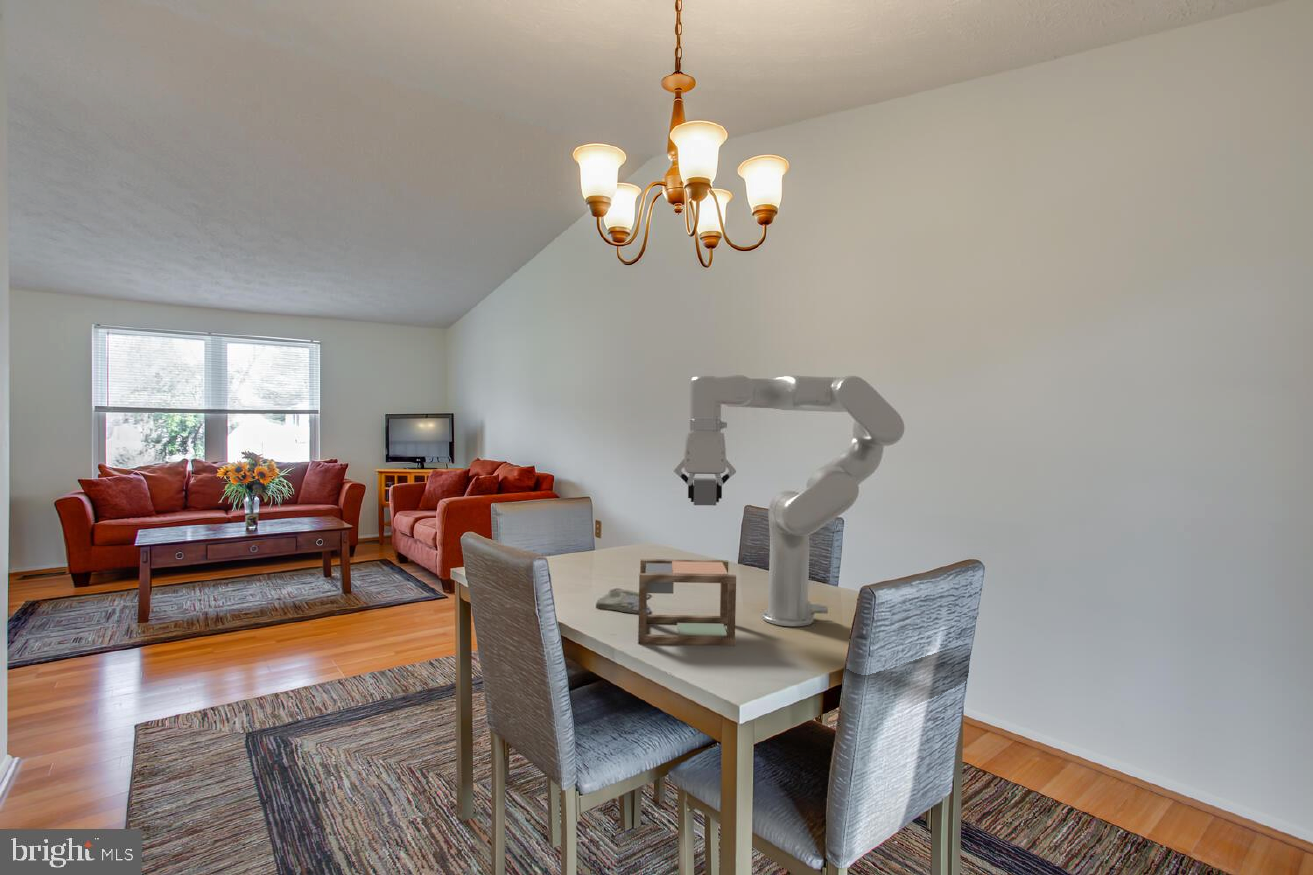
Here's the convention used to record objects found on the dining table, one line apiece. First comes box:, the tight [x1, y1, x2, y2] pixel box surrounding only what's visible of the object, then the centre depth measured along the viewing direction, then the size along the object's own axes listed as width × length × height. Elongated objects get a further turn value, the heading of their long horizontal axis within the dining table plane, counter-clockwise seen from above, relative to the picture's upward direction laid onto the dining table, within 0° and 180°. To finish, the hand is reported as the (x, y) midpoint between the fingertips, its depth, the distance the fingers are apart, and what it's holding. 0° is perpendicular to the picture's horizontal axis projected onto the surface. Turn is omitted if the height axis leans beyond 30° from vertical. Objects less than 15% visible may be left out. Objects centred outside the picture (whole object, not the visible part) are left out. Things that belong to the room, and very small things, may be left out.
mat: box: [676, 623, 727, 636], centre depth 149 cm, size 11×11×1 cm
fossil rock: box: [595, 587, 653, 615], centre depth 171 cm, size 18×15×2 cm
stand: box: [637, 558, 737, 646], centre depth 148 cm, size 21×16×15 cm
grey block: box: [693, 477, 717, 506], centre depth 157 cm, size 5×5×6 cm
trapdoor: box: [646, 561, 729, 595], centre depth 148 cm, size 18×12×4 cm, turn 90°
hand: (704, 500), depth 157 cm, fingers closed on grey block, 5 cm apart
